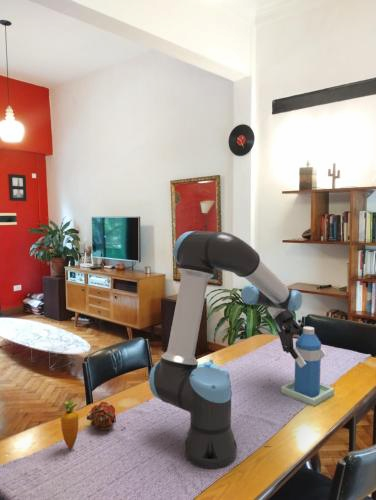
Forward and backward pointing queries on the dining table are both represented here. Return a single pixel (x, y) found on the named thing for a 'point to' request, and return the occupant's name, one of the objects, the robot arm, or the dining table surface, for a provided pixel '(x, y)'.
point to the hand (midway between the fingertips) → (313, 361)
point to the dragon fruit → (102, 416)
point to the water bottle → (308, 364)
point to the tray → (323, 395)
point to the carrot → (69, 424)
